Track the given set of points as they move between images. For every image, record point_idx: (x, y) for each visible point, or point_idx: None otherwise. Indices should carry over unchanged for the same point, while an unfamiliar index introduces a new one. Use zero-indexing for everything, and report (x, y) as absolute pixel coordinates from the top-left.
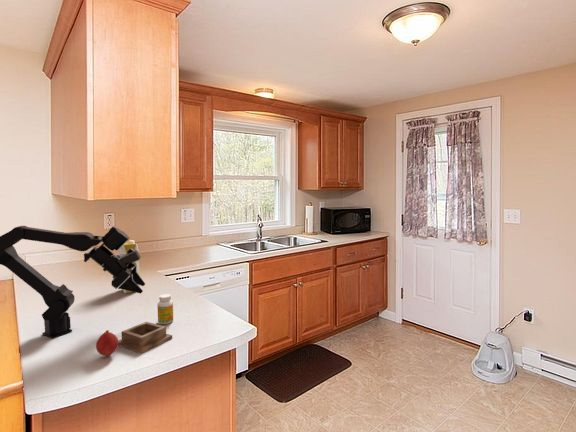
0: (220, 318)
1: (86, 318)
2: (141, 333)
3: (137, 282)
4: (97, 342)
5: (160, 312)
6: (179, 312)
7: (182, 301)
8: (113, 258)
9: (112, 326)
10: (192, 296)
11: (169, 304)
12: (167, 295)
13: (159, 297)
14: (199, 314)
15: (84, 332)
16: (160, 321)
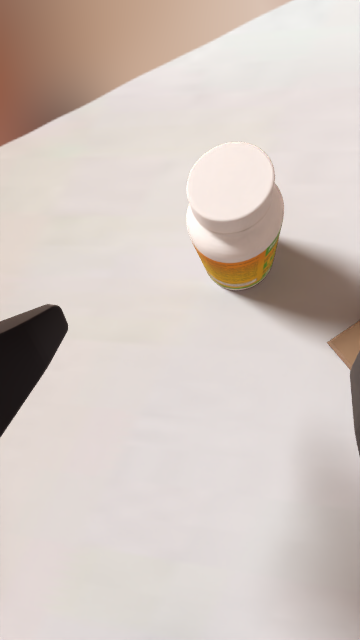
0: (299, 42)
1: (44, 583)
2: None
3: (17, 386)
4: None
5: (266, 260)
6: (151, 203)
7: (37, 192)
8: None
9: (194, 488)
10: (4, 157)
11: (276, 185)
12: (226, 163)
13: (237, 222)
14: (211, 126)
15: (217, 626)
16: (262, 277)
